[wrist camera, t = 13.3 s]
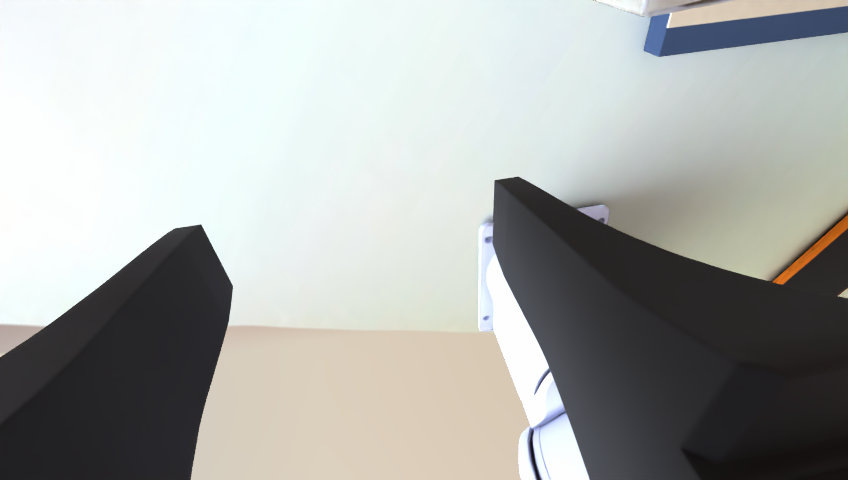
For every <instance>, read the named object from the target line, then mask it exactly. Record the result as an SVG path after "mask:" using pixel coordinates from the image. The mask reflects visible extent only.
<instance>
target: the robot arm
mask: <svg viewBox="0 0 848 480" xmlns="http://www.w3.org/2000/svg"><path fill="white" fill-rule="evenodd" d="M609 214H610V210H609V209H608V208H607V207H606V206H605V205H596V206H590V207H584V208H578V209H575V208H573V207H571V206H570V205H568V204H566V203H564V202H562V201H561V200H559V199H557V198H555V197H554V196H552V195H550V194H549V193H547V192H545V191H543V190H542V189H540V188H538V187H536V186H535V185H533V184H531V183H529V182H528V181H526V180H524V179H522V178H520V177H514V178H507V179H500V180H495V185H494V212H493V222H490V223H485V224H483V225H482V226H481V227H480V230H479V288H478V326H479V329H480V330H481V331H490V330H494V332H495V334H496V337H497V340H498V342H499V345H500V348H501V350H502V353H503V355H504V358H505V361H506V363H507V366H508V368H509V371H510V374H511V376H512V379H513V381H514V384H515V387H516V389H517V392H518V395H519V397H520V399H521V400H522V402H523V404H524V405H523V407H524V409H525V412H526V414H527V417H528V420H529V422H530V425H531V426H530V427H528V428H526V429H525V430H524V432H523V433H522V434H521V437H520V440H519V472H520V477H521V480H848V298H843V297H838V296H833V295H828V294H823V293H818V292H813V291H808V290H803V289H798V288H794V287H790V286H786V285H782V284H777V283H773V282H769V281H765V280H761V279H757V278H753V277H749V276H746V275H742V274H739V273H735V272H731V271H728V270H724V269H721V268H718V267H715V266H711V265H708V264H705V263H702V262H699V261H696V260H693V259H689V258H686V257H683V256H681V255H678V254H675V253H672V252H669V251H667V250H664V249H661V248H659V247H656V246H654V245H651V244H649V243H646V242H644V241H641V240H639V239H636V238H634V237H632V236H629V235H627V234H625V233H623V232H620V231H618V230H616V229H614V228H612V227H610V226H608V225H607V221H608V217H609ZM600 218H601V219H600ZM598 219H600V220H599V221H598ZM488 236H491V237H490V238H489V239H485V238H486V237H488ZM232 290H233V286H232V284H231V282H230V280H229V278H228V276H227V274H226V272H225V270H224V268H223V266H222V264H221V262H220V260H219V258H218V256H217V254H216V253H215V251H214V249H213V247H212V245H211V243H210V241H209V239H208V237H207V235H206V233H205V231H204V229H203V227H202V225H195V226H189V227H182V228H176V229H173V230H172V231H170V232H169V233H167V234H166V235H164V236H163V237H162V238H160V239H159V240H158V241H156V242H155V243H154V244H152V245H151V246H150V247H149V248H147V249H146V250H145V251H143V252H142V253H141V254H140V255H138V256H137V257H136V258H135V259H134V260H132V261H131V262H130V263H129V264H127V265H126V266H125V267H124V268H122V269H121V270H120V271H119V272H117V273H116V274H115V275H114V276H112V277H111V278H110V279H109V280H107V281H106V282H105V283H104V284H102V285H101V286H100V287H99V288H97V289H96V290H95V291H93V292H92V293H91V294H89V295H88V296H87V297H85V298H84V299H83V300H81V301H80V302H79V303H77V304H76V305H75V306H73V307H72V308H71V309H69V310H68V311H67V312H65V313H64V314H63V315H61V316H60V317H59V318H57V319H56V320H55V321H53V322H52V323H51V324H49V325H48V326H46V327H45V328H44V329H42V330H41V331H39V332H38V333H36V334H35V335H33V336H32V337H30V338H29V339H28V340H26V341H25V342H23V343H22V344H20V345H18V346H17V347H15V348H14V349H12V350H11V351H9V352H8V353H6V354H5V355H3V356H2V357H0V480H190V479H191V472H192V466H193V460H194V455H195V449H196V443H197V437H198V432H199V426H200V422H201V418H202V414H203V409H204V406H205V402H206V399H207V395H208V392H209V389H210V385H211V382H212V378H213V375H214V371H215V368H216V365H217V361H218V357H219V354H220V351H221V347H222V344H223V340H224V337H225V333H226V329H227V326H228V322H229V315H230V308H231V299H232ZM486 315H487V316H486Z"/></svg>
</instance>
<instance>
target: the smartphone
mask: <svg viewBox="0 0 848 480" xmlns="http://www.w3.org/2000/svg"><path fill="white" fill-rule="evenodd" d="M773 283H777V284H782V285H786V286H790V287H794V288H798V289H803V290H808V291H813V292H818V293H823V294H828V295H833V296H838V295H839V294H841V293H842V292H843V291H845V290H846V289H847V288H848V215H847V216H846V217H845V218H843V219H842V220H841V221H840V222H839V223H838V224H837V225H836V226H834V227H833V228H832V229H831V230H830V231H829V232H828V233H827V234H826V235H824V236H823V237H822V238H821V239H820V240H819V241H818V242H817V243H815V244H814V245H813V246H812V247H811V248H810V249H809V250H808V251H806V252H805V253H804V254H803V255H802V256H801V257H800V258H799V259H797V260H796V261H795V262H794V263H793V264H792V265H791V266H790V267H788V268H787V269H786V270H785V271H784V272H783V273H782V274H781V275H779V276H778V277H777V278H776V279H775V280H774V281H773Z"/></svg>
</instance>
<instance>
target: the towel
mask: <svg viewBox="0 0 848 480" xmlns="http://www.w3.org/2000/svg"><path fill="white" fill-rule="evenodd" d="M846 32H848V0H733V1H728V2H724V3H720V4H715V5H710V6H704V7H698V8H693V9H688V10H684V11H678V12H673V13H668V14H663V15H657V16H652V18H651V22H650V26H649V31H648V35H647V39H646V43H645V47H644V51H646V52H648V53H651V54H653V55H656V56H658V57H661V56H668V55H676V54H684V53H692V52H699V51H707V50H715V49H722V48H730V47H738V46H746V45H753V44H761V43H769V42H776V41H784V40H792V39H800V38H807V37H815V36H823V35H830V34H838V33H846Z"/></svg>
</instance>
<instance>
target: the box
mask: <svg viewBox="0 0 848 480" xmlns="http://www.w3.org/2000/svg"><path fill="white" fill-rule="evenodd" d="M594 1H597V2H600V3H603V4H606V5H609V6H612V7H615V8H617V9H620V10H624V11H628V12H631V13H634V14H637V15H639V16H643V17H651V16H657V15H663V14H668V13H673V12H678V11H684V10H688V9H693V8H698V7H704V6H710V5H715V4H720V3H724V2H728V1H733V0H594Z"/></svg>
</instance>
